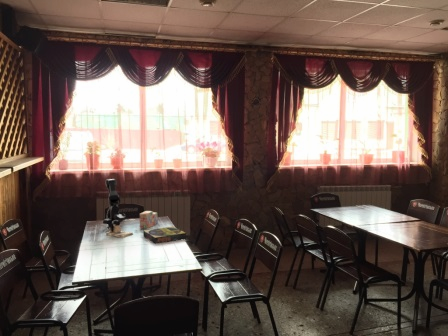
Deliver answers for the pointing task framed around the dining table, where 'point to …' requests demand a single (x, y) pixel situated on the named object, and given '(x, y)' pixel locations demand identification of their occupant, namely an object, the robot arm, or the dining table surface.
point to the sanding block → (116, 229)
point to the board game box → (164, 234)
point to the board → (120, 234)
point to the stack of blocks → (148, 219)
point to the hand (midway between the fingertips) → (114, 230)
